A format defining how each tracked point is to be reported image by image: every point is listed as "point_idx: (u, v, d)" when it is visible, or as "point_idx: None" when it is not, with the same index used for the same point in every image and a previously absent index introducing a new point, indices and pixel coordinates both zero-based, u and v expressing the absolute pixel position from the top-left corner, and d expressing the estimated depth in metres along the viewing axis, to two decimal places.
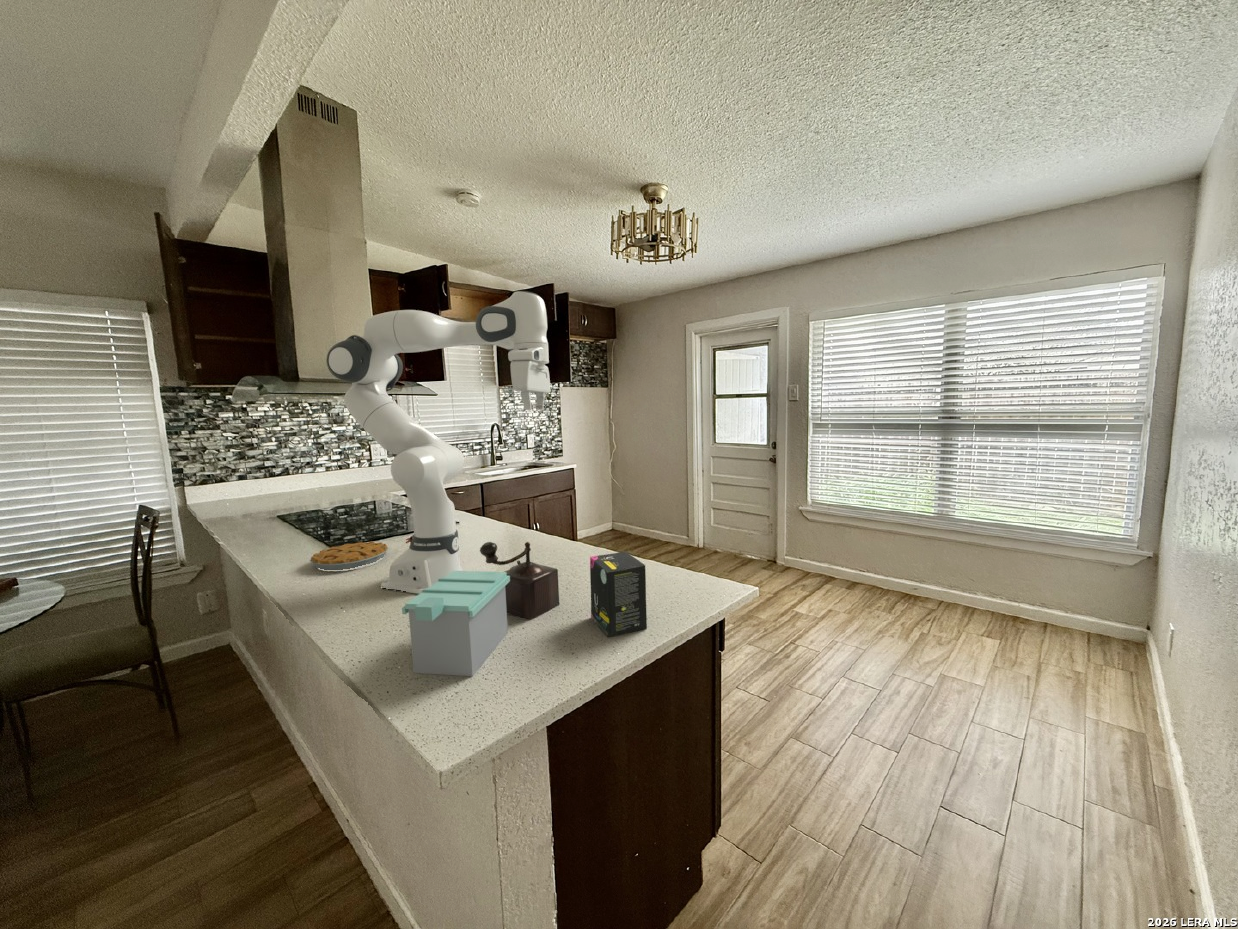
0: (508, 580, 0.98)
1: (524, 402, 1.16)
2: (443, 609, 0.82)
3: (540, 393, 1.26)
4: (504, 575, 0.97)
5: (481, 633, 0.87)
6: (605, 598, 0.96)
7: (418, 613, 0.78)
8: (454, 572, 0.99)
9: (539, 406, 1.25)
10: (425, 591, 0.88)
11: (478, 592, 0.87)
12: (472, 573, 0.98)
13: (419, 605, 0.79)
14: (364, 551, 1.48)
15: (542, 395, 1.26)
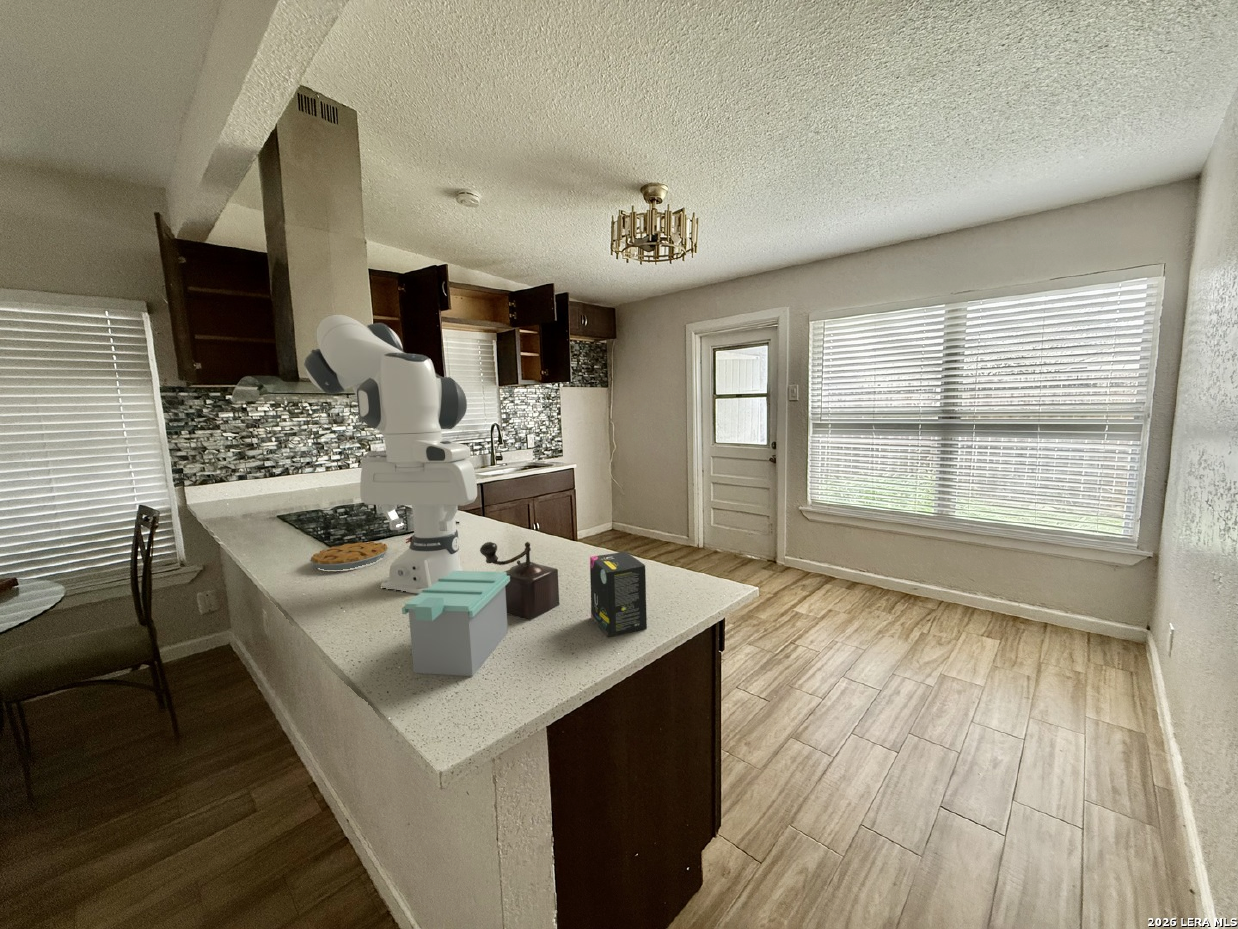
0: (508, 580, 0.98)
1: (448, 520, 0.77)
2: (443, 609, 0.82)
3: None
4: (504, 575, 0.97)
5: (481, 633, 0.87)
6: (605, 598, 0.96)
7: (418, 613, 0.78)
8: (454, 572, 0.99)
9: (400, 524, 0.80)
10: (425, 591, 0.88)
11: (478, 592, 0.87)
12: (472, 573, 0.98)
13: (419, 605, 0.79)
14: (364, 551, 1.48)
15: (395, 506, 0.80)
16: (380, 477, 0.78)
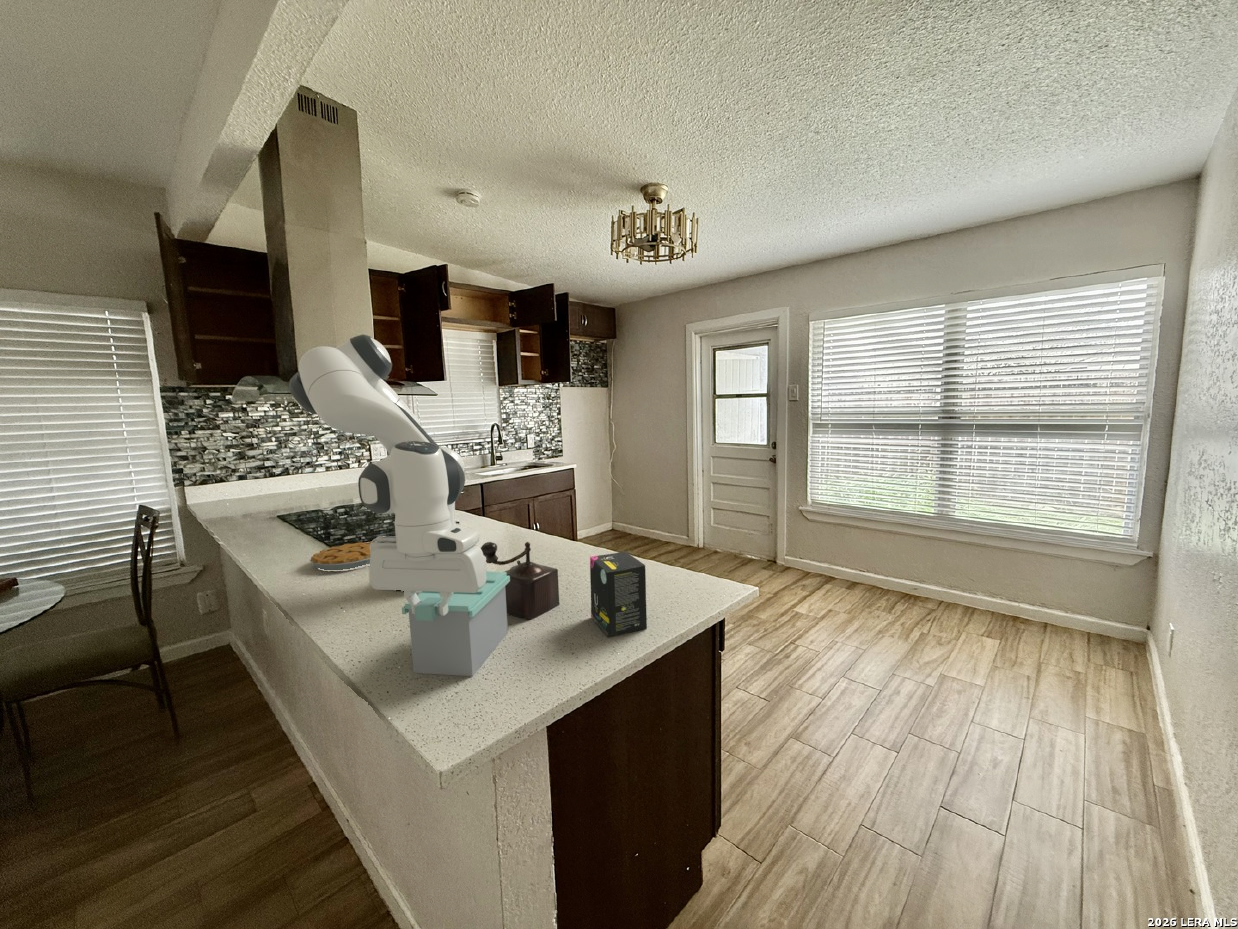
0: (508, 580, 0.98)
1: (444, 605, 0.79)
2: None
3: None
4: (504, 575, 0.97)
5: (481, 633, 0.87)
6: (605, 598, 0.96)
7: (417, 613, 0.78)
8: None
9: None
10: (425, 591, 0.88)
11: (478, 592, 0.87)
12: None
13: (419, 605, 0.79)
14: (364, 551, 1.48)
15: None
16: (390, 563, 0.79)
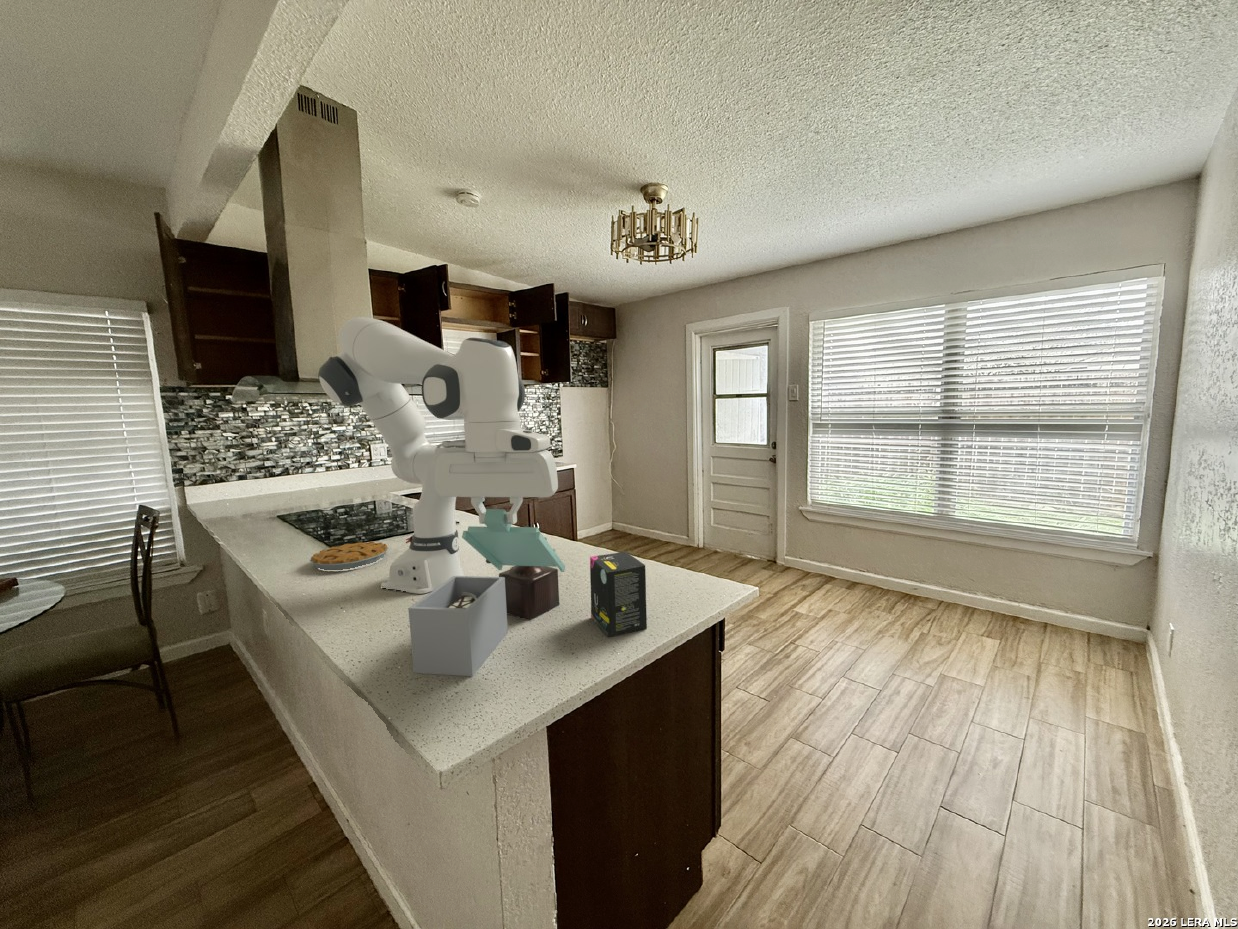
0: (563, 568, 0.90)
1: (514, 512, 0.75)
2: (509, 529, 0.77)
3: None
4: None
5: (481, 633, 0.87)
6: (605, 598, 0.96)
7: (487, 515, 0.75)
8: None
9: None
10: None
11: None
12: None
13: None
14: (364, 551, 1.48)
15: (483, 499, 0.77)
16: (457, 468, 0.74)
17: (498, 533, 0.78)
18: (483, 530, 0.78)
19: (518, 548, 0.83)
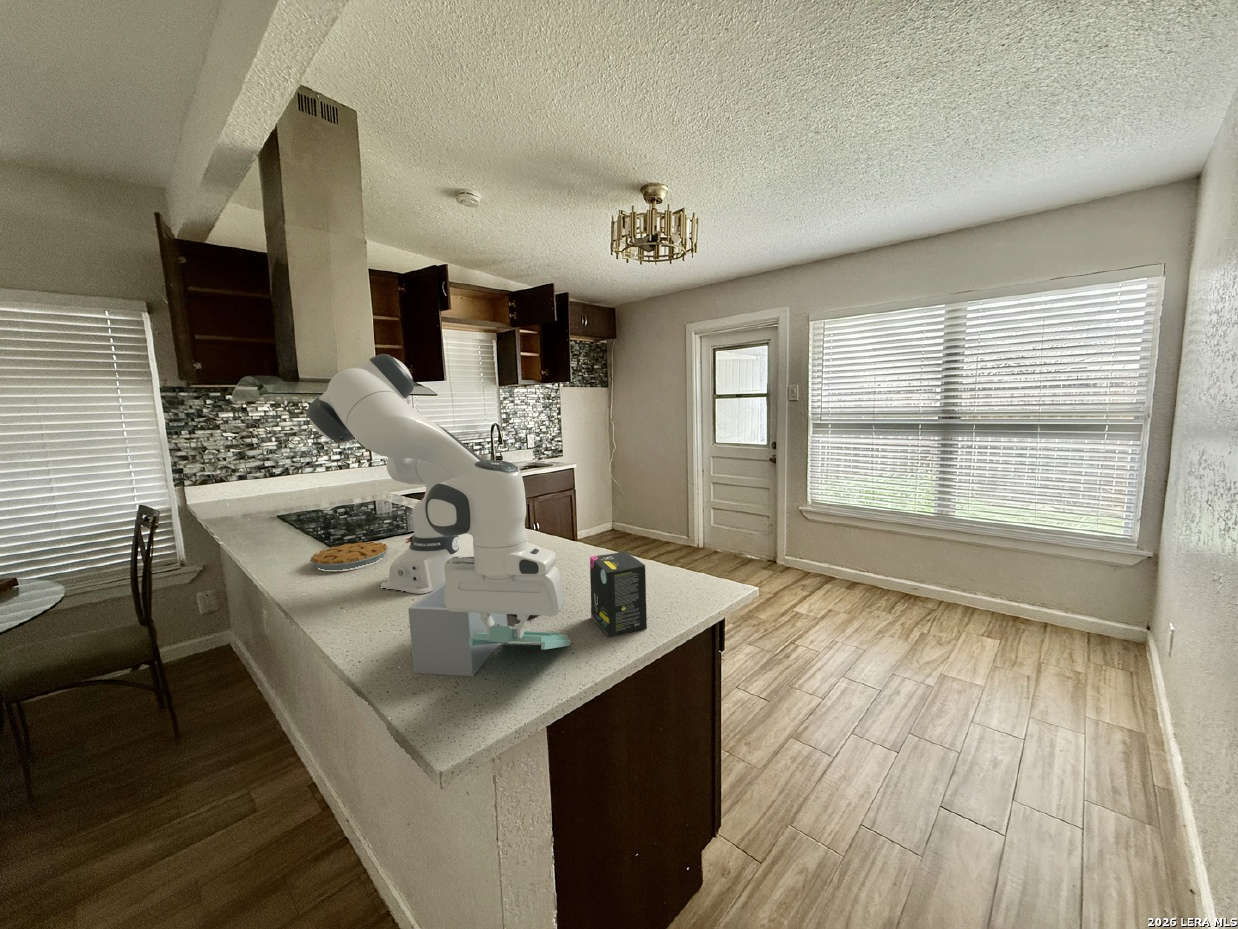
0: (568, 643, 0.93)
1: (521, 628, 0.77)
2: (514, 639, 0.78)
3: None
4: (565, 636, 0.93)
5: None
6: (605, 598, 0.96)
7: (492, 633, 0.75)
8: None
9: None
10: None
11: (547, 634, 0.83)
12: None
13: (494, 626, 0.76)
14: (364, 551, 1.48)
15: None
16: (466, 585, 0.77)
17: None
18: (488, 638, 0.79)
19: None
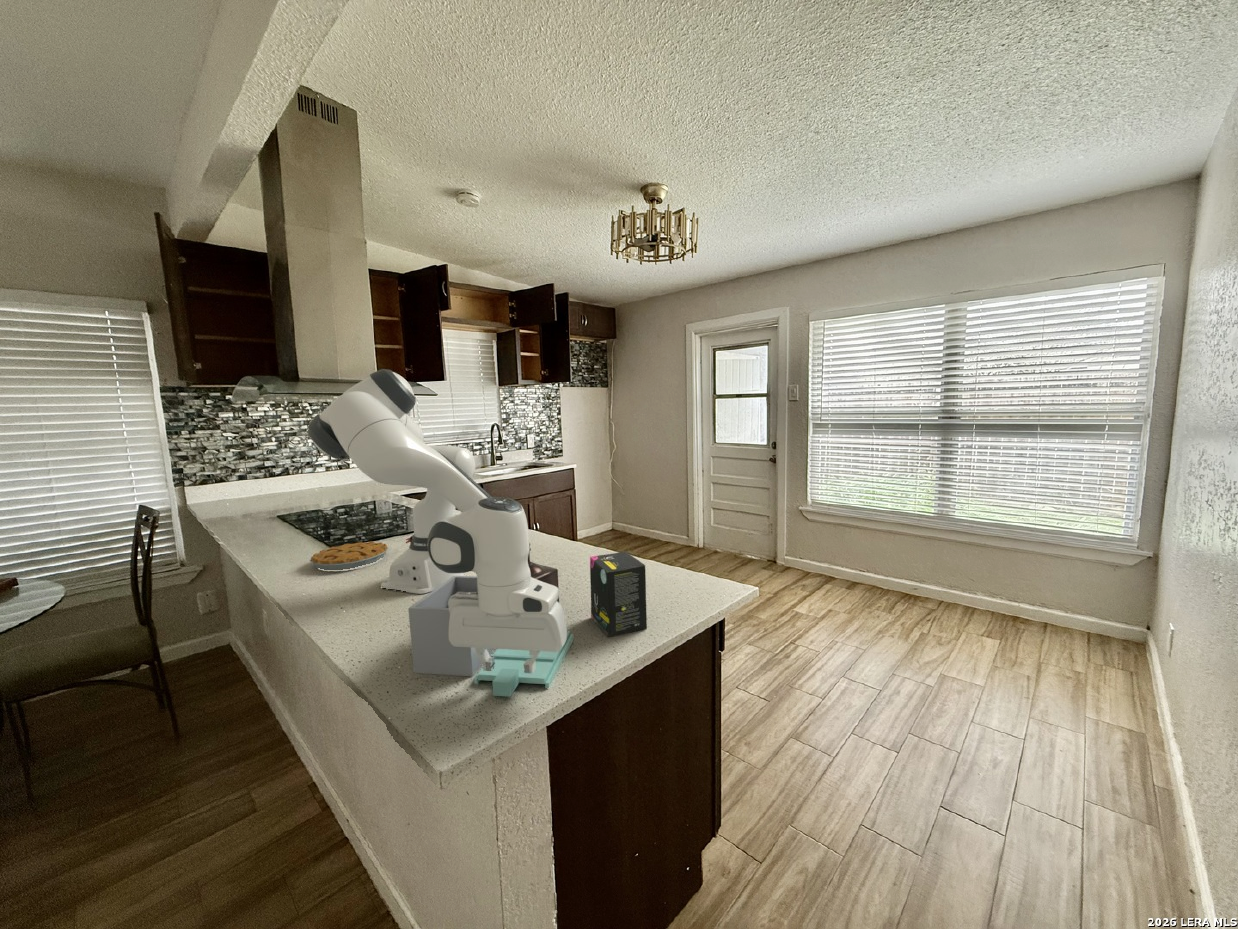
0: (572, 640, 0.95)
1: (533, 663, 0.78)
2: (518, 681, 0.79)
3: None
4: (568, 634, 0.95)
5: None
6: (605, 598, 0.96)
7: (495, 688, 0.76)
8: None
9: (493, 664, 0.80)
10: None
11: (549, 659, 0.84)
12: None
13: (496, 680, 0.76)
14: (364, 551, 1.48)
15: None
16: (470, 621, 0.78)
17: None
18: (493, 679, 0.80)
19: None
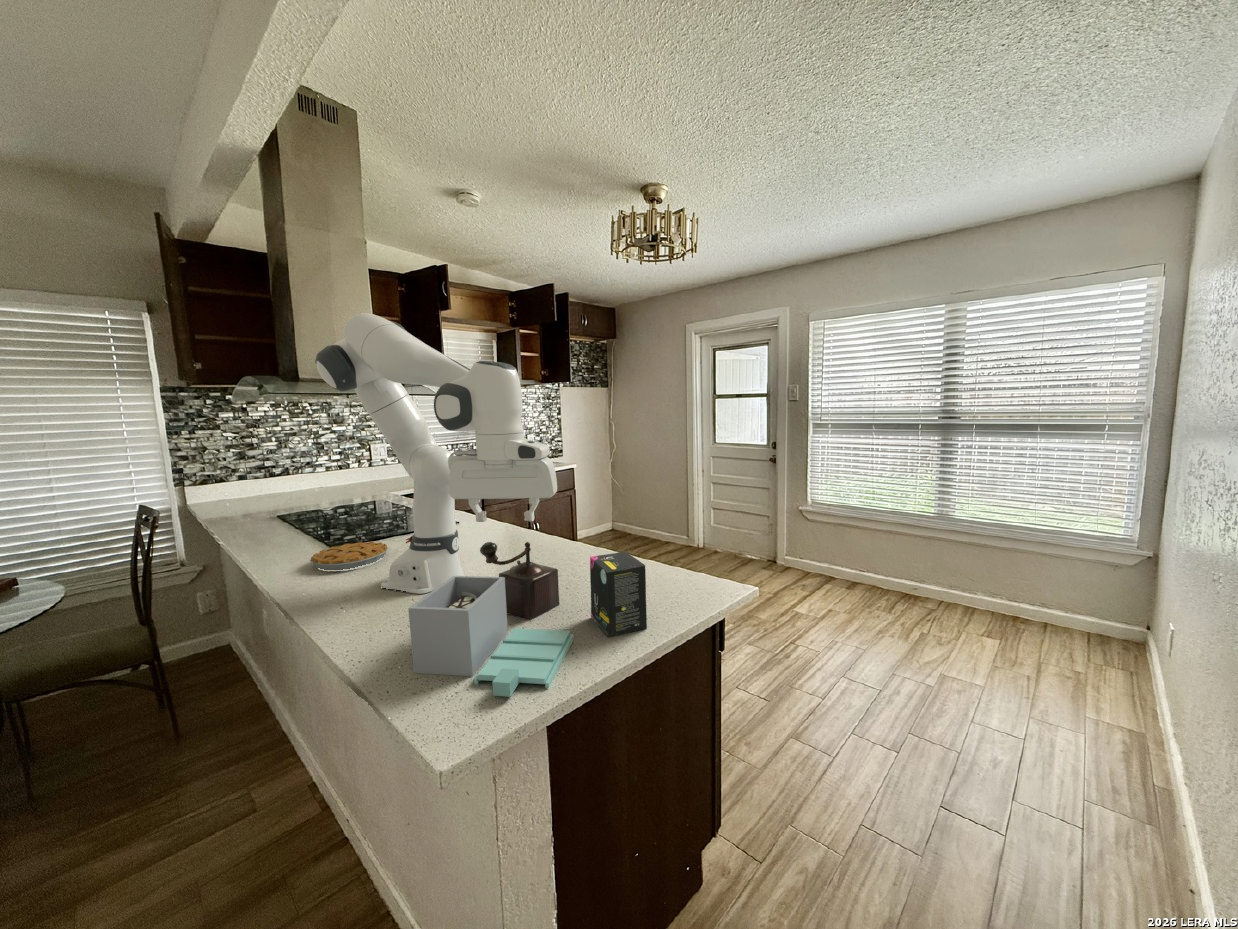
0: (572, 640, 0.95)
1: (532, 511, 0.86)
2: (518, 681, 0.79)
3: None
4: (568, 634, 0.95)
5: (481, 633, 0.87)
6: (605, 598, 0.96)
7: (495, 689, 0.76)
8: (516, 630, 0.97)
9: (484, 516, 0.88)
10: (494, 657, 0.86)
11: (549, 659, 0.84)
12: (535, 632, 0.96)
13: (496, 680, 0.76)
14: (364, 551, 1.48)
15: (479, 500, 0.88)
16: (469, 474, 0.86)
17: None
18: (493, 679, 0.80)
19: None
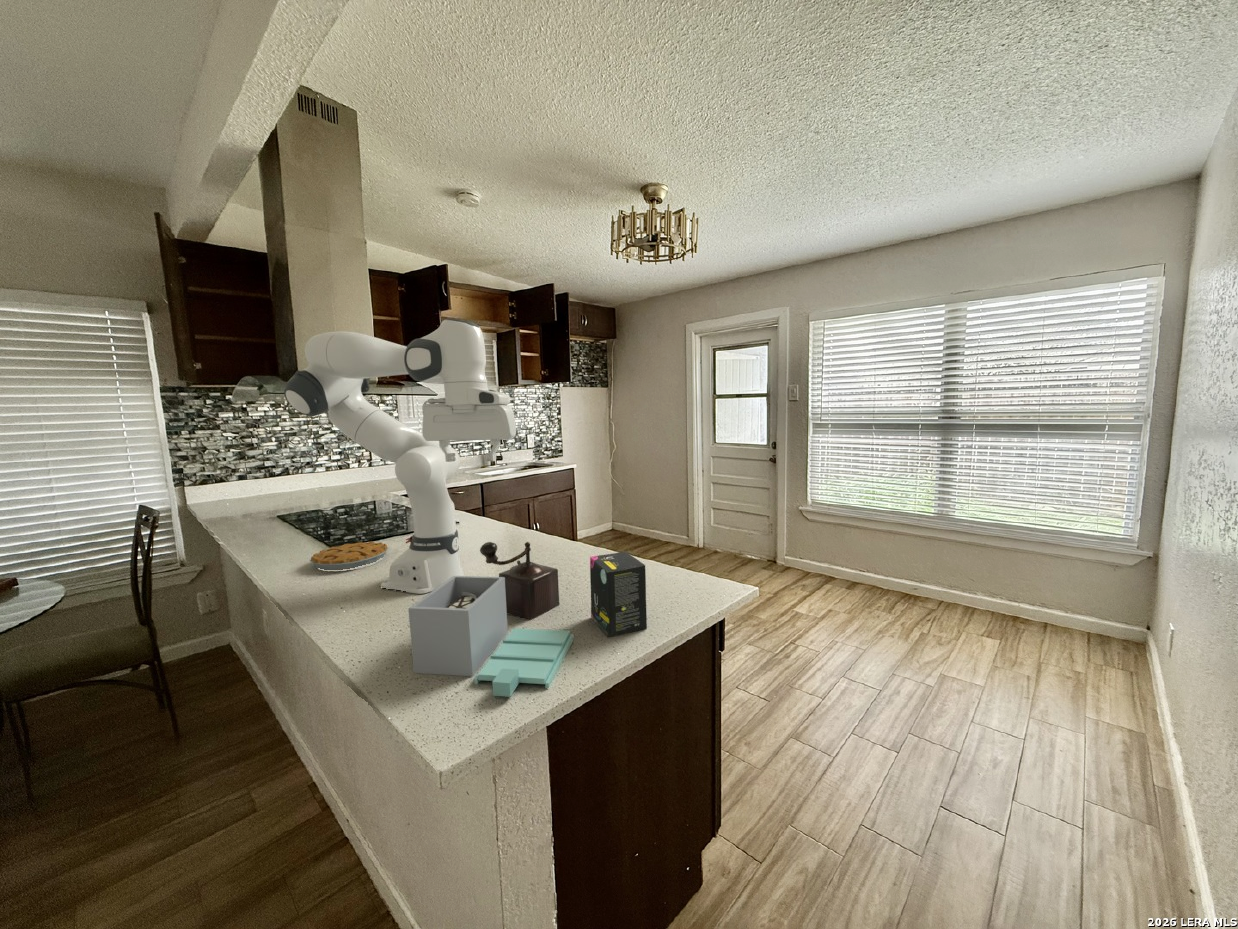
0: (572, 640, 0.95)
1: (493, 452, 0.98)
2: (518, 681, 0.79)
3: (448, 441, 1.01)
4: (568, 634, 0.95)
5: (481, 633, 0.87)
6: (605, 598, 0.96)
7: (495, 689, 0.76)
8: (516, 630, 0.97)
9: (453, 457, 1.01)
10: (494, 657, 0.86)
11: (549, 659, 0.84)
12: (535, 632, 0.96)
13: (496, 680, 0.76)
14: (364, 551, 1.48)
15: (449, 443, 1.01)
16: (439, 418, 0.98)
17: None
18: (493, 679, 0.80)
19: None
